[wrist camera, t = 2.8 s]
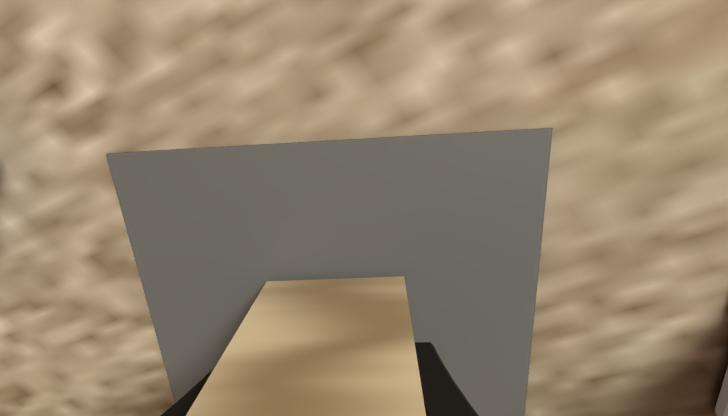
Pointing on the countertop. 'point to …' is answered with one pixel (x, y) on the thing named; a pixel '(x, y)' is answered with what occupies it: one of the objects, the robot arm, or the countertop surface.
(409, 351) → the birch block
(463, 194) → the tile
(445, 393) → the robot arm
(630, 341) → the countertop surface
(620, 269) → the countertop surface
